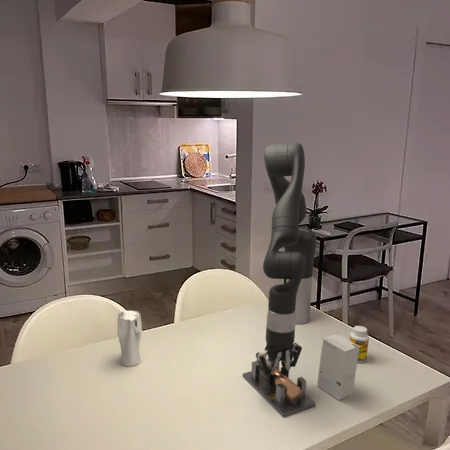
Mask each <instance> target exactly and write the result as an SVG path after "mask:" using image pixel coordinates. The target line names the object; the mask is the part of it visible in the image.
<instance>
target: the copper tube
mask: <svg viewBox="0 0 450 450" xmlns="http://www.w3.org/2000/svg"><path fill="white" fill-rule="evenodd" d="M256 361H257V360H256ZM257 362H258V361H257ZM266 364H267V360H266ZM260 371H261V372H262V373H263V374H264V375H265V376H266V377H267V375H266V374H265V373H264V372H263V371H262V370H261V369H260ZM280 383H281V384H283V385H284V386H285V387H286V388H285V394H286V395H287V396H288V397H289V398H290V399H291V400H292V401H297V400H299V399H300V398H301V396H302V390H301V389H300V388H299V387H298V386H297V383H294V382H293V380H291V379H290V378H289V377H287V376H285V375H284V374H283V373H282V372H281V369H279V370H278V368H276V370H275V380H274V384H275V385H277V384H280Z"/></svg>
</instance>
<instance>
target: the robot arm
mask: <svg viewBox="0 0 450 450" xmlns="http://www.w3.org/2000/svg"><path fill="white" fill-rule="evenodd" d="M305 157H306V156H305V150H304V147H303V145H302V143H300V142H286V143H285V142H284V143H275V144H274V143H273V144H270V145H268V146H267V147H266V148H265V149H264V153H263V162H264V167H265V170H266V174H267V177H268V180H269V183H270V185H271V187H272V191H273V197H274V203H275V207H274V209H273V211H272V215H271V232H270V233H271V236H270V241H269V246H268V248H267V252H266V255H265V257H264V260H263V263H262V270H263V273H264V275H265V276H266V277H267V278H269V279H275V280H285V283H282V284H276V285H272V286H271V287H270V289H269V291H268V306H267V307H268V309H267V313H266V324H265V325H266V327H265V342H266V345H265V348H264V351H261V352H256V353H255V358H256V361H258V364H259V367H260V369H261V370H262V371H263V372H264V373H265V374H266V375H267V379H266V382H267V383H268V384H269V385H270V386H271V387H273V386H274V380H275V370H276V367H278V363H279V361H280V362H281V363H280V365H281V366H282V367H280V371H281V372H282V373H283V374H284V375H285V376H287V377H288V378H289V377H290V376H289V375H290V374H289V373H290V370H291V368H292V367H293V368H294V367H296V365H297V363H298V360H299V357H300V354H301V352H302V350H303V347H302V346H301V345H300V344H298V343H297V342H295V336H296V334H295V333H296V325H303V324H307V323H309V321H310V316H311V315H310V314H311V303H312V289H313V287H312V286H313V275H314V263H315V254H316V248H317V247H316V246H317V236H316V233H315V232H313V231H308V230H300V229H299V228H300V224H302V222H303V221H304V219H305V218H306V215H307V211H308V210H307V204H306V199H305V198H306V197H305V195H304V194H303V183H304V177H305V167H306V160H305ZM286 177H291V179H290V181H289V180H288V179H287V178H286ZM282 248H284V249H283V251H281V250H280V249H282ZM266 360H267V364H266Z"/></svg>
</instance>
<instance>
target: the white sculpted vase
mask: <svg viewBox="0 0 450 450" xmlns="http://www.w3.org/2000/svg"><path fill="white" fill-rule="evenodd" d="M141 315H142V314H141V312H139V311H137V310H124V311H120V313H118V315H117V337H118V341H119V346H120V350H121V351H120V353H121V354H120V360H119V361H120V362H119V363H120V364H121V365H122V366H124V367H134V366H137V365H139V364H140V363H141V361H142V360H141V358H142V357H141V353H140V344H141V339H142V331H143V330H142V329H143V328H142V327H143V326H142V324H143V323H142V317H141Z"/></svg>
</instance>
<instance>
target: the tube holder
mask: <svg viewBox="0 0 450 450" xmlns="http://www.w3.org/2000/svg"><path fill="white" fill-rule="evenodd" d="M280 362H281V361H279V363H278V367H276V368H278V370H280V365H281V363H280ZM242 378H244V380H245V381H246V382H247V383H248V384H249V385H250V386H251V387H252V388H253V389H254V390H255V391H256V392H257V393H258V394H259V395H260V396H261V397H262V398H263V399H264V400H265V401H266V402H268V403H269V405H270V406H271V407H272V408H274V410H276V412H277V413H278V414H279V415H281V417H283V418H285V417H288V416H291V415H294V414H298V413H299V412H302V411H305V410H308V409H311V408H314V407H316V402H315V401H314V400H313V399H312V398H310V396H308V395H307V394H306V389H307V380H306V379H305V378H304V377H303V376H300V377H297V380H296V385H297V386H298V387H299V388H300V389H301V390H302V396H301V398H300V399H299V400H297V401H292V400H291V399H290V398H289V397H288V396H287V395H286V394H285V388H286V387H285V386H284V385H283V384H281V383H280V384H277V385H275V384H274V386H273V387H271V386H270V385H269V384H268V383H267V382H266V379H267V377H266V376H265V375H264V374H263V373H262V372H261V371H260V367H259V364H258V362H257V360H254V361H251V370H250V371H248V372H244V373H242Z"/></svg>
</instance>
